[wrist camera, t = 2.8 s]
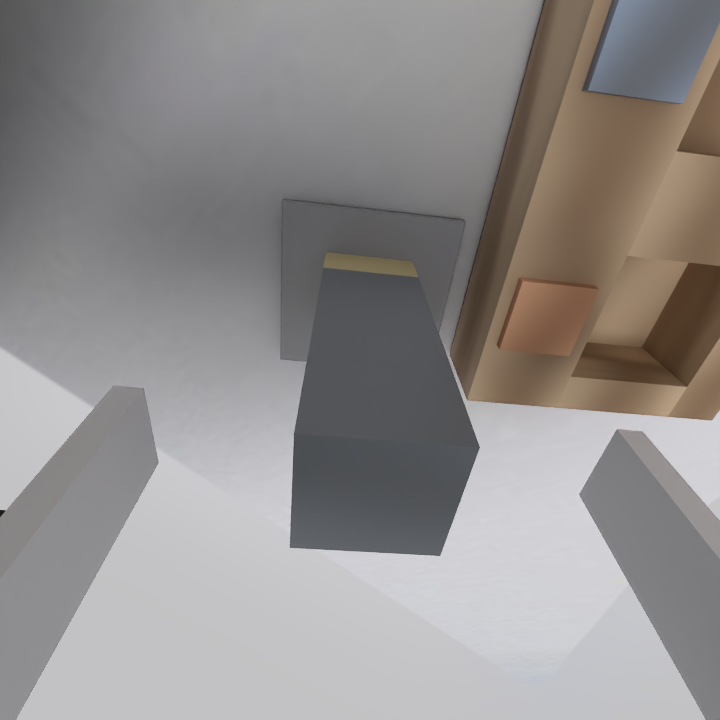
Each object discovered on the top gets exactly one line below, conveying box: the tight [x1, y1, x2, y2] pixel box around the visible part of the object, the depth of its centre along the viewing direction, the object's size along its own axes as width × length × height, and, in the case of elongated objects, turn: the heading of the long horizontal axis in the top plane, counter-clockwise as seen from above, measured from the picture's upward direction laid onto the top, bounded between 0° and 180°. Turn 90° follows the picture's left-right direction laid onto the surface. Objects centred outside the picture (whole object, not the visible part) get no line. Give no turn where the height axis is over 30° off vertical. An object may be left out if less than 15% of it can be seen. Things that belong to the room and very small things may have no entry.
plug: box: [290, 252, 480, 556], centre depth 15 cm, size 4×4×12 cm
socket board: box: [450, 0, 720, 420], centre depth 16 cm, size 12×18×4 cm, turn 174°
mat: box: [280, 199, 466, 362], centre depth 20 cm, size 8×8×1 cm
